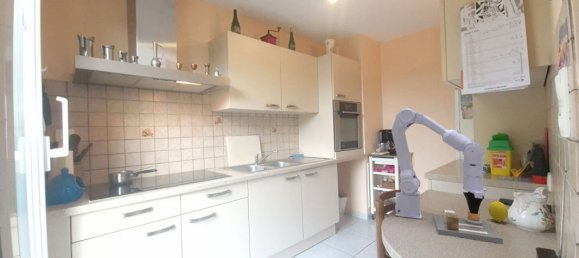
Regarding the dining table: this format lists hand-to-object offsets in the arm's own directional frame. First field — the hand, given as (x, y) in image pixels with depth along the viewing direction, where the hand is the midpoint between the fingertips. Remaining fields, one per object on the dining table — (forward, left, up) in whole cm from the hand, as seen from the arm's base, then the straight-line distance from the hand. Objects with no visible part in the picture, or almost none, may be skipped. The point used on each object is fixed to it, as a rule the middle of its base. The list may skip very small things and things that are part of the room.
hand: (473, 213), depth 88 cm
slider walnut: (-8, -10, -3) cm, 13 cm away
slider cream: (-8, -4, -3) cm, 10 cm away
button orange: (0, 0, -2) cm, 2 cm away
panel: (-4, -5, -5) cm, 8 cm away
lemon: (+9, +9, -5) cm, 14 cm away
